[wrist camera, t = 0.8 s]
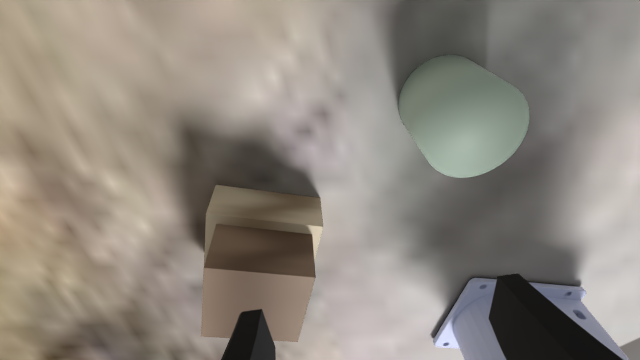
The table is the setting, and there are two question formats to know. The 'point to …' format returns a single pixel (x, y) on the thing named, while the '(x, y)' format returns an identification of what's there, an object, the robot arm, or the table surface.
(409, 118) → the pale green short cylinder
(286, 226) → the oak base block
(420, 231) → the table surface
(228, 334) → the walnut top block
